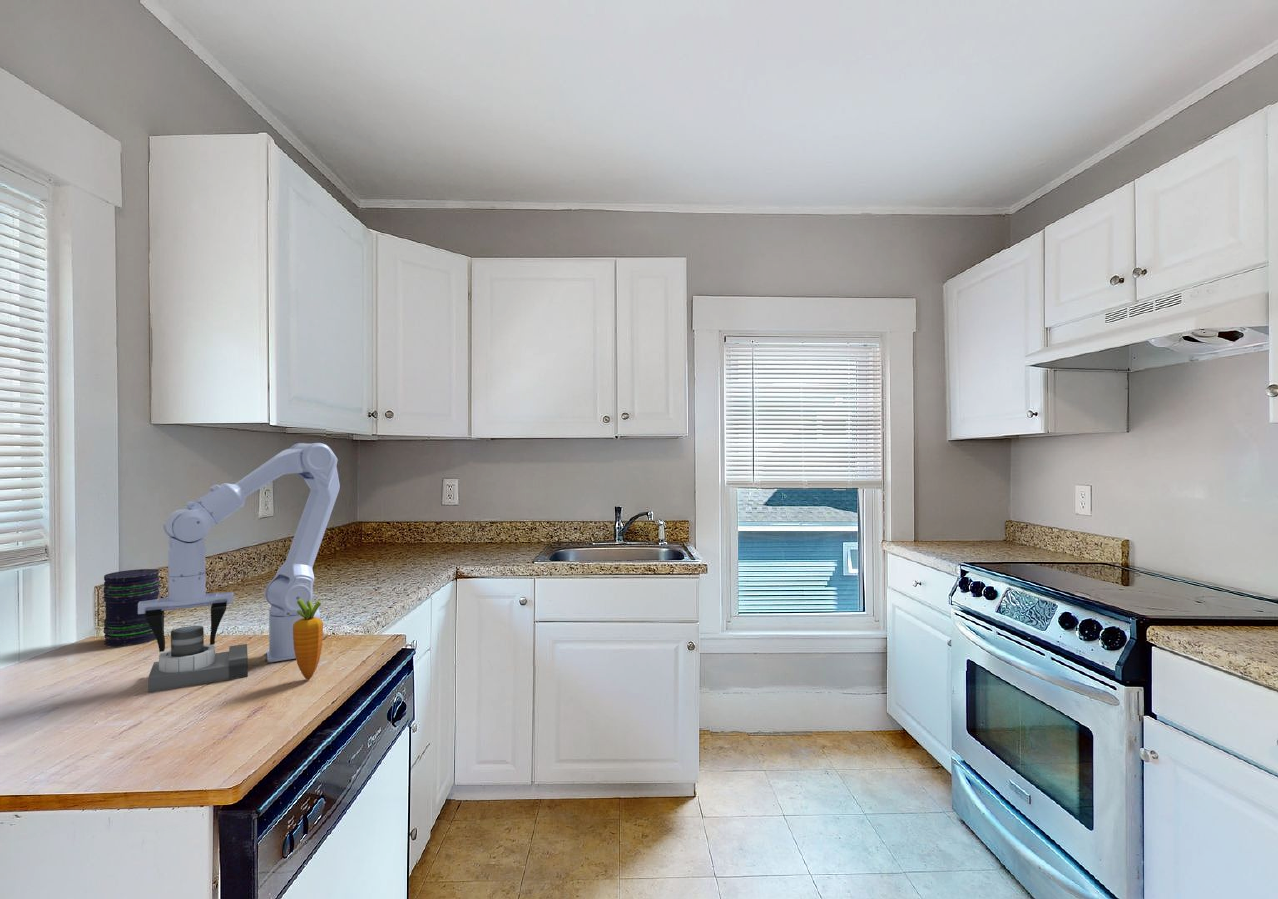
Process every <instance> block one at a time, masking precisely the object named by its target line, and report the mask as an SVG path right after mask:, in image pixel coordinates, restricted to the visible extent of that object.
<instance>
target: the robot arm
mask: <svg viewBox="0 0 1278 899" xmlns="http://www.w3.org/2000/svg"><path fill="white" fill-rule="evenodd" d="M338 461H339V460H338V458H337V455H335V453H334V451H333V450H332V448H331V447H330V446H328V445H327V444H325V443H323V442H322V443H321V442H314V443H307V442H305V443H304V442H298V443H296V444H293V445H292V446H290V447H289V448H285V449H284V450H282V451H280V452H279V453H277V454H276V455H274V456H273V457H272V458H270V459H269V460H267V461H266V462H264V463H263V464H261V465H260V466H258V467H256V469H254V470H253V471H251V472H250V473H248V474H247V475H246V476H244V477H243V478H241V479H240V480H238V481H237V482H236V483H234V484H233V483H227V482H226V483H225V482H224V483H221V484H220V485H219V484H214V485H212V486H210V487H209V490H210V491H209V492H207V493H206V494H204V495H202V496H201V497H199V498H197V499H196V500H195V501H192V500H190V501H188V502H186V503H185V506H187V507H186V508H187V509H186V508H183V509H177V510H175V511H173V512H172V513H170V514H169V515H168V517H167V518H166V520H165V523H164V524H163V525H162V526H163V530H164V532H165V534H166V535H167V536H168V551H167V564H168V565H167V567H168V568H167V575H168V579H167V580H168V581H167V582H168V584H167V585H168V586H167V587H168V589H167V590H168V592H167V593H168V596H167V597H161V598H158V599H155V600H148V601H140V602H139V603H138V614H145V613H146V616H145V619H146V621H147V623H148V624H149V626H150V627H151V629H152V631H153V633H154V635H155V637H156V640H155V641H156V642H157V646H158V651H159V653H162V652H164V651H166V650H165V649H166V638H165V611H173V610H180V609H181V610H182V609H189V608H190V609H191V608H199V607H209V606H210V636H209V644H210V645H214V646H215V643H216V636H217V631H218V628H219V625H220V623H221V620H222V619H223V616H224V614H225V612H226V611H227V608H228V607H227V606H228V605H233V604H234V592H233V591H226V592H213V593H211V592H210V593H207V592H206V591H207V587H206V584H207V581H206V579H207V577H206V576H207V575H206V574H207V573H206V568H207V567H206V546H205V544H206V542H205V541H206V540H205V539H206V537H207V535H209V532H210V531H211V527H215V526H216V525H219V523H221V522H223V521H224V520H226V519H227V518H229V517H230V516H231V515H233V514H234V513H236V512H237V511H239V510H240V509H242V508H244V506H245V502H246V499H247V497H248V496H250V495H251V494H254V493H256V492H257V491H259V490H260V489H261V488H263V487H265V486H267V485H268V484H270V483H271V482H274V481H275V480H276V479H278V478H279V477H282V476H283V475H289V474H298V475H299V476H300V477H302V478H303V480H304V482H305V483H306V485H307V487H308V488H309V490H310V491H309V494H308V497H307V500H306V503H305V506H304V508H303V511H302V515H301V517H300V519H299V522H298V526H297V528H296V530H295V533H294V537H293V539H292V542H291V545H290V548H289V549H288V553H287V556H286V559H285V561H284V562H283V564H282V565H281V566H280V567H278V569H277V571H276V574H275V575H274V578H273V579H272V580H271V581H269V583H268V584H267V585H266V587H265V589H264V590H265V591H264V597H265V599H266V602H267V603H268V604H269V605H270V609H269V611H268V623H269V624H268V634H269V636H268V638H269V640H268V643H269V646H268V647H269V648H268V649H266V651H265V652H266V658H267V663H275V662H281V661H288V660H294V659H296V656H295V651H294V642H293V625H294V623H295V622H296V621H298V620H299V619H301V618H304V617H302V616H301V615H300V614H298V613H297V611H302V609H301V608H300V606H299V605H298V603H297V601H298V600H299V599H302V600H303V601H304V603H305V605H306V607H308V606H307V603H306V602H307V601H311V603H312V604H313V599H314V590H313V589H314V588H313V586H314V583H315V575H314V574H315V573H314V570H313V567H314V565H315V564H314V563H315V561H316V558H317V555H318V553H319V549H320V547H321V544H322V541H323V538H324V535H325V532H326V529H327V526H328V524H329V521H330V518H331V515H332V513H333V512H332V511H333V509H334V506H335V505H336V501H337V497H338V495H339V492H340V487H341V484H340V480H339V473H338V468H337V465H338ZM302 612H303V611H302ZM313 617H317V618H319V619H321V614H320V609H319V608H318V609H317V611H316V613H315V615H314V616H313Z"/></svg>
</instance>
